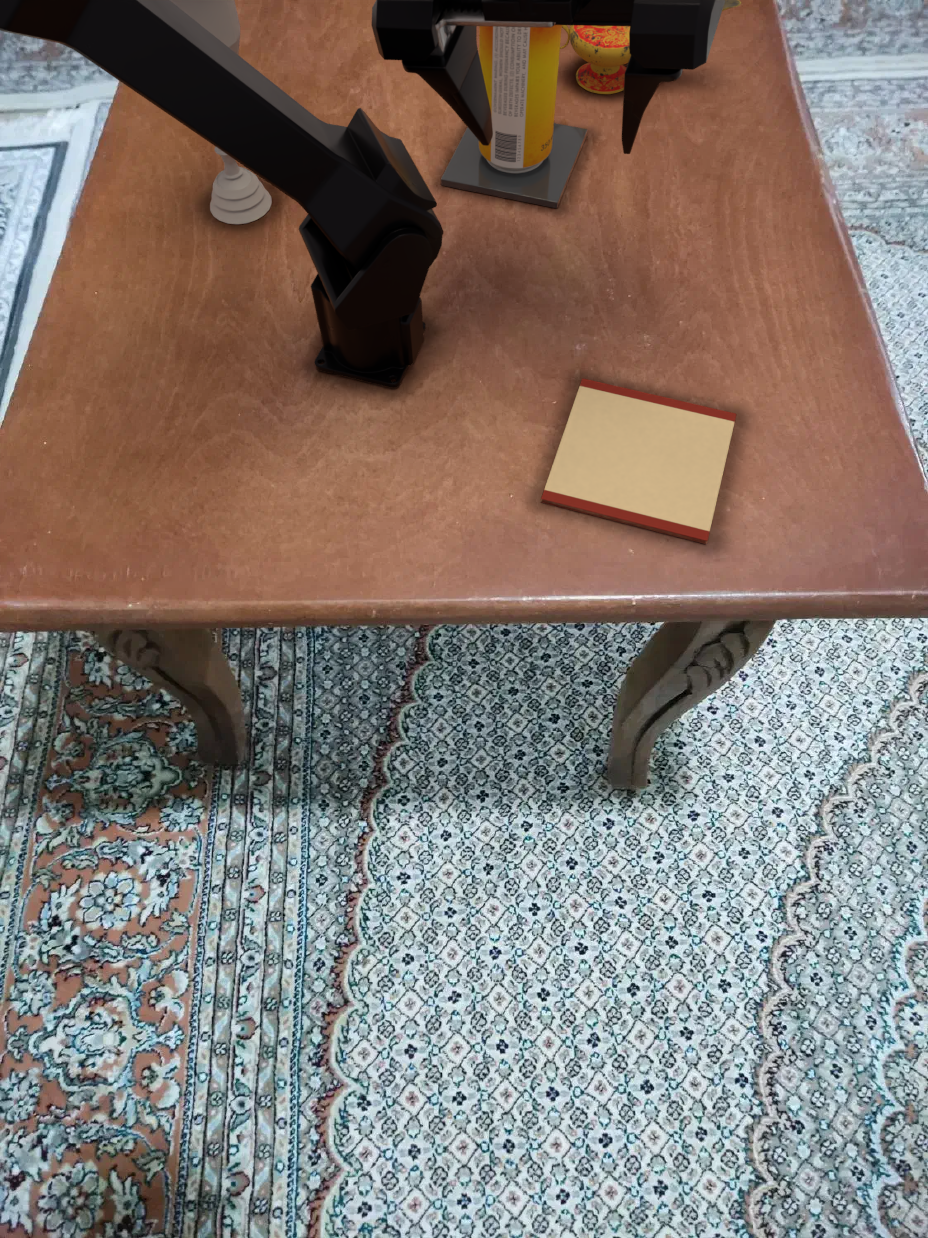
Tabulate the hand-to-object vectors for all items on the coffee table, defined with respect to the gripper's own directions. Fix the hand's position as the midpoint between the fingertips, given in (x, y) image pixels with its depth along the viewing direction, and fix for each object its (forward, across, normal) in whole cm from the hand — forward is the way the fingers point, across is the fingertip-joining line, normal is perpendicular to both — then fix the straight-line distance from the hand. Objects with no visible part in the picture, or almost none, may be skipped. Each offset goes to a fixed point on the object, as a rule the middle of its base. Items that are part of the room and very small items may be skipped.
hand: (556, 144), depth 56 cm
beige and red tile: (+12, -9, +14) cm, 21 cm away
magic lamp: (+16, +3, -28) cm, 32 cm away
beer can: (+13, +9, -14) cm, 21 cm away
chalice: (+9, +28, -2) cm, 30 cm away
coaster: (+13, +9, -14) cm, 21 cm away
